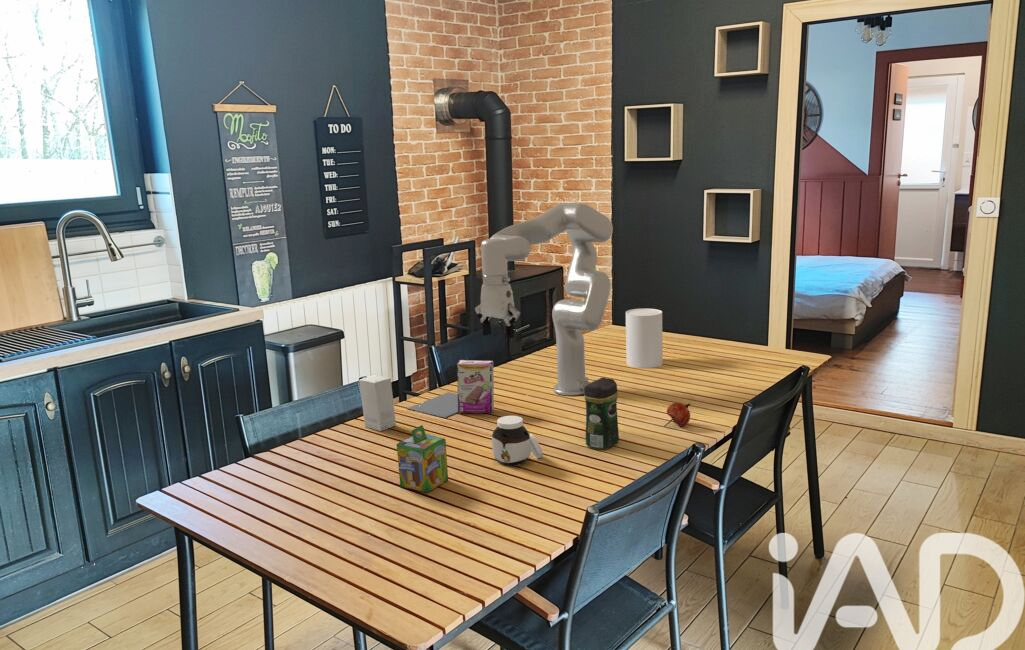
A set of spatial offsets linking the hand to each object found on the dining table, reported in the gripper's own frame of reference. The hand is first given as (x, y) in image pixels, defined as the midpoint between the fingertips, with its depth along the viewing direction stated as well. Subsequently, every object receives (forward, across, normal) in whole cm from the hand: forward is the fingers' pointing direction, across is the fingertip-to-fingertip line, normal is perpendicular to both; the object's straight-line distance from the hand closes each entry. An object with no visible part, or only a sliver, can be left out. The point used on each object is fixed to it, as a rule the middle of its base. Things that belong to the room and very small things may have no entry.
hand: (498, 336), depth 235 cm
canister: (+26, -8, -76) cm, 81 cm away
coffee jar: (+26, -38, +3) cm, 46 cm away
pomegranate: (+26, -49, -21) cm, 60 cm away
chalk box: (+26, -14, +49) cm, 57 cm away
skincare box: (+26, +28, +26) cm, 46 cm away
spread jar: (+26, -25, +24) cm, 44 cm away
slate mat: (+26, +24, 0) cm, 35 cm away
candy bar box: (+26, +11, 0) cm, 28 cm away
